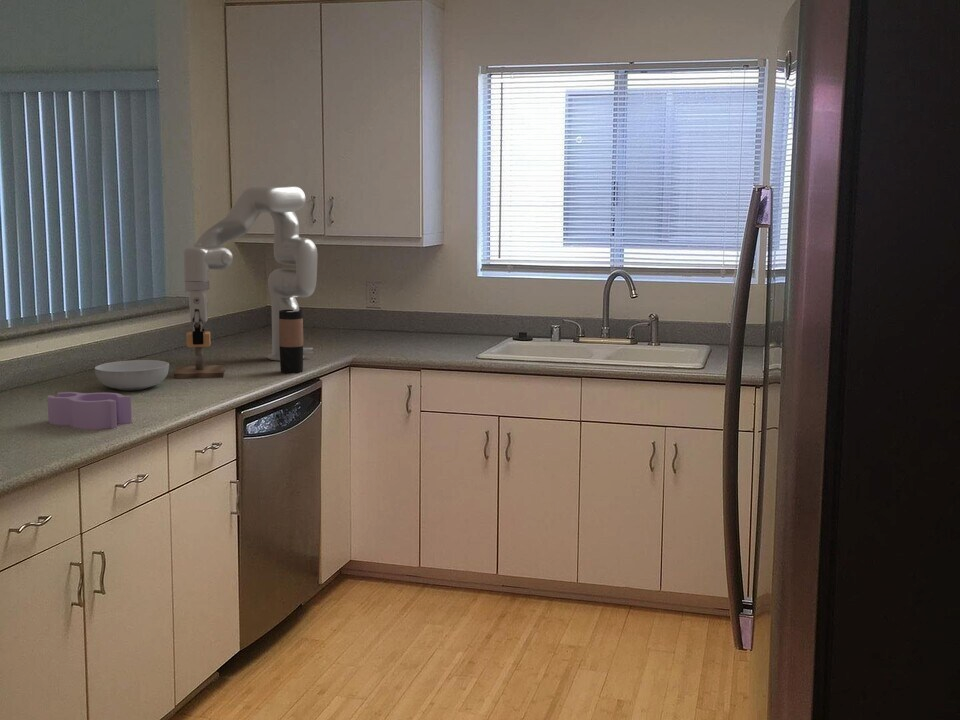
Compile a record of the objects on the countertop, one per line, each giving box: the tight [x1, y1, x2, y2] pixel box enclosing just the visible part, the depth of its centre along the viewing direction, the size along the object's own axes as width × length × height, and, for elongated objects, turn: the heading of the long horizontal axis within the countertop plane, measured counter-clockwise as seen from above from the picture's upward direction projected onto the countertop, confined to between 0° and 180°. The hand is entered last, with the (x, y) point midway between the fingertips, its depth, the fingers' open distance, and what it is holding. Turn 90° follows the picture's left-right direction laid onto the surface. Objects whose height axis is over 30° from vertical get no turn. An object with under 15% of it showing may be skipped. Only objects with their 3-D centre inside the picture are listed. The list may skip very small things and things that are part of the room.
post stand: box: [173, 347, 226, 379], centre depth 335 cm, size 15×15×12 cm
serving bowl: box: [94, 359, 170, 391], centre depth 311 cm, size 21×21×7 cm
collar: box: [185, 330, 212, 348], centre depth 334 cm, size 7×7×4 cm
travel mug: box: [279, 309, 304, 374], centre depth 341 cm, size 8×8×20 cm
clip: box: [46, 391, 133, 430], centre depth 262 cm, size 20×12×7 cm, turn 76°
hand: (198, 342), depth 335 cm, fingers closed on collar, 6 cm apart
